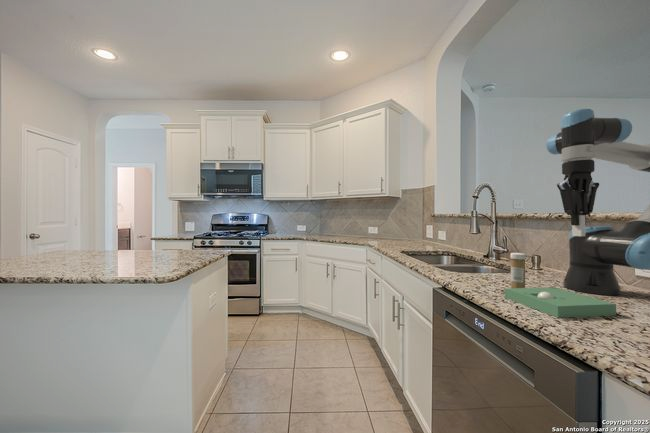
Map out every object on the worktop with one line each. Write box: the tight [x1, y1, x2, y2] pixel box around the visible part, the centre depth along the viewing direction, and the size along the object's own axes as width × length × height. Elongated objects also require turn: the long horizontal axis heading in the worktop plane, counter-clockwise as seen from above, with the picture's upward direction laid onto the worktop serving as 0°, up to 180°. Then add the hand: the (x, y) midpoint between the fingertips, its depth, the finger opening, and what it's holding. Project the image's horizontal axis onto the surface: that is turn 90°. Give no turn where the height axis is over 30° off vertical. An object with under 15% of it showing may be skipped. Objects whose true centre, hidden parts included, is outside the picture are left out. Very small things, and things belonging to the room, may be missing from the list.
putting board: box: [504, 286, 617, 319], centre depth 83 cm, size 18×18×3 cm
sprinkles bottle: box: [509, 252, 527, 288], centre depth 100 cm, size 5×5×14 cm
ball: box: [537, 292, 554, 299], centre depth 82 cm, size 4×4×4 cm
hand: (578, 235), depth 86 cm, fingers closed
